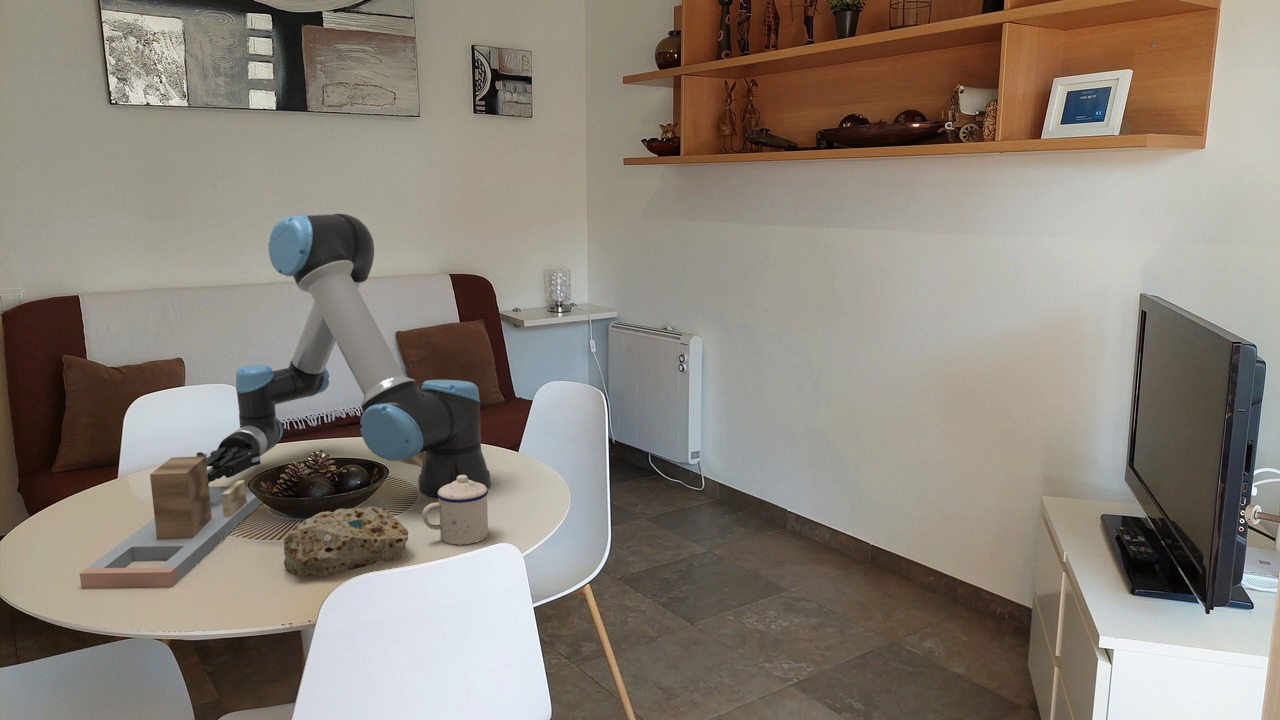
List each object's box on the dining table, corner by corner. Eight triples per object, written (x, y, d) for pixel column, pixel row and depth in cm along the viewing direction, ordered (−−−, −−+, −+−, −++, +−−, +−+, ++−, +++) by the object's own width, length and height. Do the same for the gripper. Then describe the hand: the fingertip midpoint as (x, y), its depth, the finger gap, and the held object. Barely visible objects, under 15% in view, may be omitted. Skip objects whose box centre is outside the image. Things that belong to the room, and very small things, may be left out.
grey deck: (198, 498, 191) (197, 486, 190) (268, 497, 191) (267, 485, 191) (81, 588, 149) (79, 573, 148) (172, 586, 149) (170, 572, 148)
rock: (386, 538, 172) (394, 491, 169) (414, 582, 161) (423, 532, 158) (271, 552, 160) (277, 502, 156) (293, 601, 149) (300, 547, 146)
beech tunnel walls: (177, 503, 180) (175, 481, 180) (246, 502, 181) (244, 480, 180) (157, 517, 173) (155, 494, 172) (230, 516, 173) (228, 494, 172)
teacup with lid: (481, 524, 176) (479, 465, 174) (495, 540, 168) (493, 479, 166) (418, 535, 170) (415, 474, 168) (430, 552, 162) (427, 489, 160)
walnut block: (177, 519, 172) (171, 457, 169) (211, 518, 172) (205, 456, 170) (157, 539, 162) (149, 474, 160) (192, 538, 163) (186, 473, 160)
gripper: (275, 464, 197) (231, 502, 174) (212, 465, 197) (161, 503, 174) (272, 430, 196) (228, 464, 173) (209, 431, 195) (157, 465, 172)
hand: (194, 483), depth 173 cm, fingers closed
